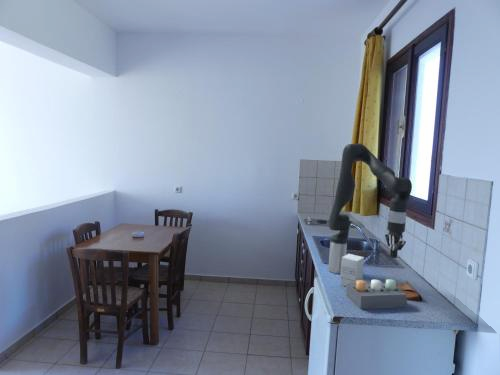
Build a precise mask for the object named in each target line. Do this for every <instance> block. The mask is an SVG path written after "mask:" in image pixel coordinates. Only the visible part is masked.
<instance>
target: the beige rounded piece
mask: <svg viewBox="0 0 500 375" xmlns="http://www.w3.org/2000/svg"><path fill="white" fill-rule="evenodd" d="M367 283H368V282H367V281H366V280H365V279H364V280H357V281H356V290H357V291H358V292H366V286H367Z"/></svg>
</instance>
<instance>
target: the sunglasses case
mask: <svg viewBox="0 0 500 375" xmlns="http://www.w3.org/2000/svg"><path fill="white" fill-rule="evenodd" d="M396 288H398V289H399V290H401V291H402V292H403V293H405V294H406V301H412V302H420V303H421V302H422V301H423V297H422V296H421V294H420V293H419V292H418V291H417V290H416V289H415V287H413V286H412V284H410V283H409V281H407V280H406V281H404V282H402V283H399V284H396Z"/></svg>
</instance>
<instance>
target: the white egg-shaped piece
mask: <svg viewBox="0 0 500 375" xmlns="http://www.w3.org/2000/svg"><path fill="white" fill-rule="evenodd" d="M370 283H371V290H372V291H381V285H382V283H383V282H382V280H379V279H371V280H370Z"/></svg>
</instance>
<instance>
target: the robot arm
mask: <svg viewBox="0 0 500 375" xmlns="http://www.w3.org/2000/svg"><path fill="white" fill-rule="evenodd" d="M342 151H343V152H342V157H341V166H340V173H339V178H338V182H337V187H336V190H335V197H334V202H333V206H332V209H331V212H330V215H329V218H328V227H329V229H330V231H339V232H338V233H335V234H332V235H331V236H330V243H329V244H330V245H329V255H328V256H329V257H328V268H327V270H328V271H329V272H330V273H333V274H338V275H339V274H341V261H342V257H343V256H345V255H347V250H348V249H347V248H348V246H347V245H348V240H349V234H350V233H349V231H350V224H351V223H350V222H351V220H350V216H349V215H348V214H342V213H341V212H342V210H343V208H344V207H346V205H347V204H348V203H349V202H350V201H351V200H352V199H353V197H354V192H355V189H356V181H355V178H354V176H353V166H354V162H355V163H356V162H362V163H365V164H366V165H368V168H369V170H370V172H371V173H372V174H373V176H374V177H375V178H377V179H378V180H379V181H381V182H382V183H383V185H385V188H386V189H387V190H388V191H390V192H392V193H393V194H396V195H395V197H393V198H391V199H390V202H389V212H388V217H387V226H386V227H387V228H386V229H387V231H388V234H384V237H385V240H386V244H387V247H388V248H389V249H390V251H389V257H390V258H392V259H397V258H398V251H402V249H403V247H405V245H406V243H407V241H406V240H404V239H403V236H404V235H403V233H404V232H406V223H407V205H408V201H409V198H410V196H411V193H412V188H413V184H412V181H411V180H410V179H409V178H408V177H397V175H396V172H395V171H394V170H393V169H392V168H390V167H389V166H388V165H386V164H385V163H383V162H382V161H380V160H379V159H378V157H376V156H375V155H374V154H373V153H372V151H370V150H369V148H367V146H366V145H364V144H362V143H350V144H349V143H348V144H346V145H345V146H344V148H343V150H342Z"/></svg>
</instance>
